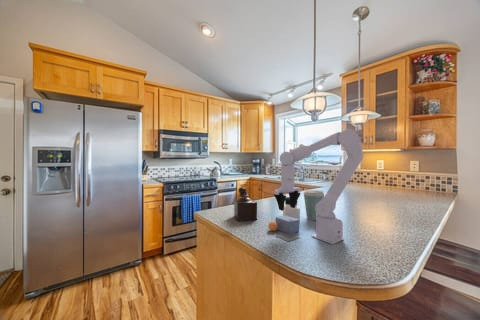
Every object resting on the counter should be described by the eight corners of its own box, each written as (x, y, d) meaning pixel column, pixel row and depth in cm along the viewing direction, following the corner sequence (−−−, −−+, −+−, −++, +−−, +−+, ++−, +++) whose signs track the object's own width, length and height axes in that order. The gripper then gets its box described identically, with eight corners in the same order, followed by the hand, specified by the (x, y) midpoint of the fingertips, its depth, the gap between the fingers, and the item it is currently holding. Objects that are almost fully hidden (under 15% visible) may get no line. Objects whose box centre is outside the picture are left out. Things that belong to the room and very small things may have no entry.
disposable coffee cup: (300, 219, 106) (300, 190, 106) (306, 214, 115) (306, 188, 114) (321, 223, 100) (321, 193, 99) (326, 217, 108) (326, 190, 108)
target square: (299, 237, 82) (299, 237, 82) (288, 241, 78) (288, 241, 78) (286, 232, 88) (286, 231, 88) (275, 236, 84) (275, 235, 84)
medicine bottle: (299, 222, 101) (300, 198, 100) (285, 222, 101) (285, 198, 101) (296, 218, 108) (296, 195, 108) (282, 218, 108) (282, 195, 108)
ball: (279, 231, 89) (279, 222, 89) (272, 233, 87) (272, 223, 87) (272, 228, 93) (272, 219, 93) (266, 230, 90) (266, 221, 90)
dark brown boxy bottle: (232, 215, 112) (232, 183, 112) (251, 214, 115) (251, 183, 115) (239, 225, 97) (239, 188, 97) (260, 223, 100) (260, 187, 100)
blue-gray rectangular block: (299, 231, 89) (299, 219, 89) (290, 234, 86) (290, 222, 86) (284, 225, 96) (284, 215, 96) (275, 228, 93) (275, 217, 93)
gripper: (291, 177, 98) (290, 204, 98) (269, 178, 89) (269, 209, 90) (303, 178, 92) (303, 208, 92) (281, 180, 84) (280, 213, 84)
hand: (287, 208), depth 91 cm, fingers open, 7 cm apart
